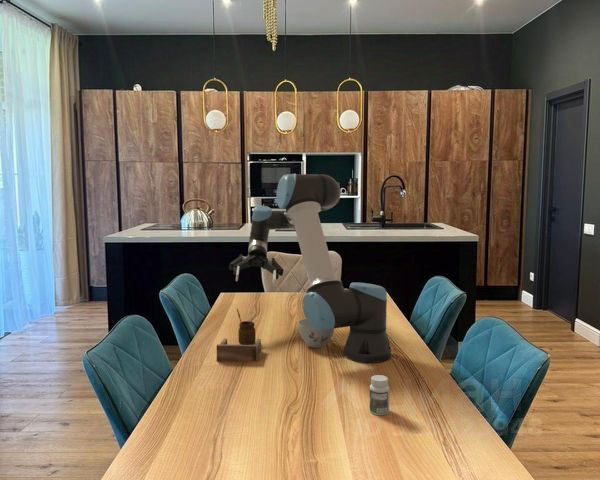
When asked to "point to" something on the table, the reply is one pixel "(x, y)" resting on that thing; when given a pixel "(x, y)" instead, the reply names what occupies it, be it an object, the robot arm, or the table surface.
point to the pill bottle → (379, 395)
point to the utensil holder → (246, 332)
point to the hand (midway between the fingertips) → (255, 280)
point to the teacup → (314, 334)
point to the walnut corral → (238, 352)
